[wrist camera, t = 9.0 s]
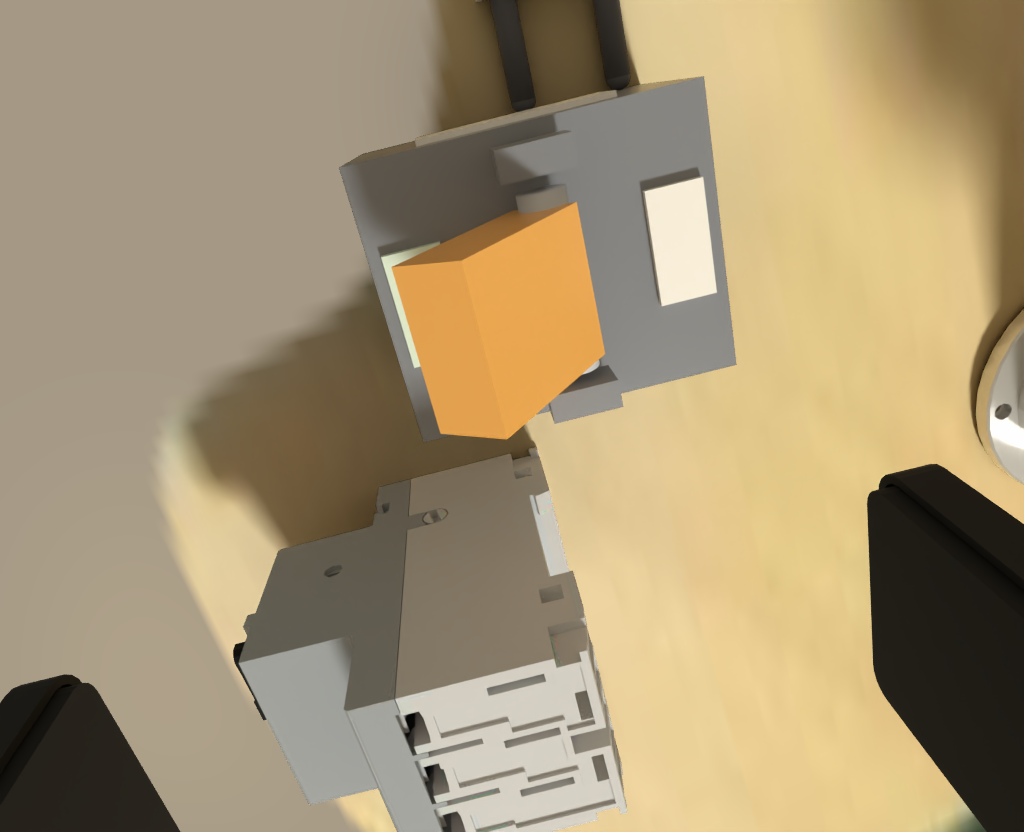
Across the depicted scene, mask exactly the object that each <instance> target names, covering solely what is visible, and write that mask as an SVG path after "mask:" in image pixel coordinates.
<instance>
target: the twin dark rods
mask: <svg viewBox="0 0 1024 832" xmlns="http://www.w3.org/2000/svg"><path fill="white" fill-rule="evenodd" d="M480 1H484V0H476V2H480ZM593 3H594V9H595V16H596V22H597V28H598V34H599V40H600V46H601V53H602V59H603V65H604V71H605V77H606V82H607V84H608V86H609V87H610V88H611V89H613V90H621V89H623V88H625V87H626V86H627V85H628V83H629V81H630V69H629V62H628V56H627V49H626V42H625V36H624V29H623V22H622V16H621V9H620V2H619V0H593ZM490 4H491V9H492V14H493V19H494V23H495V28H496V33H497V38H498V42H499V47H500V52H501V57H502V61H503V66H504V71H505V75H506V80H507V85H508V90H509V94H510V99H511V104H512V107H513V108H514V110H515V111H516V112H520V111H524V110H528V109H532V108H534V106H535V94H534V89H533V84H532V79H531V74H530V69H529V64H528V59H527V54H526V49H525V44H524V39H523V34H522V29H521V23H520V18H519V13H518V8H517V3H516V0H490Z"/></svg>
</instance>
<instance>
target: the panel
mask: <svg viewBox="0 0 1024 832" xmlns="http://www.w3.org/2000/svg"><path fill="white" fill-rule="evenodd" d="M339 169H340V173H341V176H342V179H343V182H344V185H345V189H346V192H347V195H348V199H349V202H350V205H351V208H352V212H353V215H354V218H355V221H356V225H357V228H358V231H359V234H360V237H361V241H362V244H363V247H364V251H365V254H366V257H367V260H368V264H369V267H370V270H371V273H372V276H373V280H374V283H375V286H376V289H377V293H378V296H379V299H380V302H381V306H382V309H383V312H384V315H385V319H386V322H387V325H388V328H389V332H390V335H391V338H392V341H393V345H394V348H395V351H396V354H397V358H398V361H399V364H400V367H401V371H402V374H403V377H404V380H405V384H406V387H407V390H408V393H409V397H410V400H411V403H412V406H413V410H414V413H415V416H416V419H417V423H418V426H419V429H420V432H421V436H422V439H423V442H428V441H432V440H436V439H440V438H444V437H448V436H452V435H450V434H441V433H440V430H439V427H438V423H437V420H436V417H435V413H434V410H433V406H432V403H431V400H430V396H429V393H428V390H427V386H426V383H425V379H424V376H423V373H422V369H421V366H420V363H419V359H418V356H417V352H416V349H415V346H414V342H413V339H412V335H411V332H410V329H409V325H408V322H407V319H406V315H405V312H404V308H403V305H402V302H401V298H400V295H399V292H398V288H397V285H396V281H395V278H394V275H393V271H392V268H391V267H393V266H395V265H397V264H399V263H401V262H403V261H405V260H408V259H410V258H412V257H414V256H416V255H418V254H420V253H423V252H425V251H427V250H429V249H431V248H433V247H435V246H438V245H440V244H442V243H444V242H446V241H448V240H451V239H453V238H455V237H457V236H459V235H461V234H463V233H466V232H468V231H470V230H472V229H474V228H476V227H478V226H481V225H483V224H485V223H487V222H489V221H491V220H493V219H496V218H498V217H500V216H502V215H504V214H506V213H508V212H511V211H513V210H518V206H517V202H516V197H515V196H516V195H517V194H519V193H522V192H524V191H527V190H531V189H534V188H538V187H543V186H547V185H553V184H566V189H567V194H568V199H569V203H572V202H577V206H578V211H579V217H580V222H581V227H582V233H583V238H584V243H585V249H586V254H587V259H588V265H589V270H590V275H591V281H592V286H593V291H594V297H595V302H596V307H597V313H598V318H599V323H600V329H601V334H602V339H603V345H604V350H605V355H603V356H602V357H601V358H600V359H599V361H600V365H599V366H598V367H597V368H596V369H595V370H593V371H591V372H589V373H586V374H583V375H581V376H579V377H578V378H577V379H576V380H575V381H574V382H572V383H571V384H570V385H569V386H568V387H567V388H566V389H564V390H563V391H562V392H561V393H560V394H559V395H558V396H556V397H555V398H554V399H553V400H552V401H551V402H550V403H548V404H547V405H546V406H545V407H544V408H543V409H542V410H540V411H539V412H538V413H537V414H541V413H545V412H549V411H550V412H551V414H552V417H553V420H554V422H555V424H556V423H560V422H564V421H568V420H572V419H576V418H580V417H584V416H588V415H592V414H596V413H600V412H604V411H608V410H612V409H616V408H620V407H623V403H622V397H621V393H625V392H629V391H633V390H637V389H641V388H645V387H649V386H653V385H657V384H661V383H665V382H669V381H673V380H677V379H681V378H685V377H689V376H693V375H697V374H701V373H705V372H709V371H713V370H717V369H721V368H725V367H729V366H733V365H736V357H735V348H734V339H733V330H732V321H731V312H730V304H729V295H728V286H727V277H726V268H725V259H724V250H723V242H722V233H721V224H720V215H719V206H718V197H717V188H716V179H715V171H714V162H713V153H712V144H711V135H710V126H709V117H708V109H707V100H706V91H705V82H704V76H703V77H695V78H687V79H680V80H672V81H664V82H656V83H648V84H640V85H636V86H632V87H628V88H624V89H621V90H612V91H603V92H596V93H592V94H588V95H584V96H580V97H576V98H572V99H568V100H564V101H560V102H556V103H552V104H548V105H544V106H540V107H536V108H532V109H528V110H524V111H520V112H516V113H512V114H508V115H504V116H500V117H496V118H492V119H488V120H484V121H480V122H476V123H472V124H468V125H465V126H461V127H457V128H453V129H449V130H445V131H441V132H437V133H433V134H429V135H425V136H421V137H417V138H416V139H415V141H413V142H409V143H405V144H401V145H397V146H393V147H389V148H385V149H381V150H377V151H373V152H369V153H365V154H362V155H360V156H358V157H357V158H355V159H353V160H351V161H350V162H348V163H346V164H345V165H343V166H341V167H340V168H339Z"/></svg>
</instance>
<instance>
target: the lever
mask: <svg viewBox="0 0 1024 832" xmlns="http://www.w3.org/2000/svg"><path fill="white" fill-rule="evenodd" d="M515 197H516V202H517V206H518V210H513V211H511V212H508V213H506V214H504V215H502V216H500V217H498V218H496V219H493V220H491V221H489V222H487V223H485V224H483V225H481V226H478V227H476V228H474V229H472V230H470V231H468V232H466V233H463V234H461V235H459V236H457V237H455V238H453V239H451V240H448V241H446V242H444V243H442V244H440V245H438V246H435V247H433V248H431V249H429V250H427V251H425V252H423V253H420V254H418V255H416V256H414V257H412V258H410V259H408V260H405V261H403V262H401V263H399V264H397V265H395V266H393V267H391V268H392V271H393V275H394V278H395V281H396V285H397V288H398V292H399V295H400V298H401V302H402V305H403V308H404V312H405V315H406V319H407V322H408V325H409V329H410V332H411V335H412V339H413V342H414V346H415V349H416V352H417V356H418V359H419V363H420V366H421V369H422V373H423V376H424V379H425V383H426V386H427V390H428V393H429V396H430V400H431V403H432V406H433V410H434V413H435V417H436V420H437V423H438V427H439V430H440V433H441V434H450V435H462V436H473V437H485V438H497V439H508V438H509V437H511V436H512V435H513V434H514V433H515V432H516V431H518V430H519V429H520V428H521V427H522V426H523V425H524V424H526V423H527V422H528V421H529V420H530V419H531V418H532V417H534V416H535V415H536V414H537V413H538V412H539V411H540V410H542V409H543V408H544V407H545V406H546V405H547V404H548V403H550V402H551V401H552V400H553V399H554V398H555V397H556V396H558V395H559V394H560V393H561V392H562V391H563V390H564V389H566V388H567V387H568V386H569V385H570V384H571V383H572V382H574V381H575V380H576V379H577V378H578V377H579V376H581V375H583V374H586V373H589V372H591V371H593V370H595V369H596V368H597V367H598V366H599V365H600V361H599V359H600V358H601V357H602V356H603V355H605V350H604V345H603V339H602V334H601V329H600V323H599V318H598V313H597V307H596V302H595V297H594V291H593V286H592V281H591V275H590V270H589V265H588V259H587V254H586V249H585V243H584V238H583V233H582V227H581V222H580V217H579V211H578V206H577V202H572V203H569V199H568V194H567V189H566V184H553V185H547V186H543V187H538V188H534V189H531V190H527V191H524V192H522V193H519V194H517V195H516V196H515Z"/></svg>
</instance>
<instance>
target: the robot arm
mask: <svg viewBox="0 0 1024 832" xmlns="http://www.w3.org/2000/svg"><path fill="white" fill-rule="evenodd" d="M976 419H977V427H978V434H979V436H980V439H981V441H982V444H983V447H984V449H985V451H986V453H987V454H988V455H989V457H990V458H991V459H992V461H993V462H994V464H995V465H996V466H998V467H999V468H1000V469H1001V470H1002V471H1004V472H1005V473H1006V474H1007V475H1009V476H1010V477H1012V478H1014V479H1015V480H1017V481H1019V482H1020V483H1022V484H1024V309H1023V310H1022V311H1021V312H1020V314H1019V315H1018V316H1017V317H1016V318H1015V319H1014V320H1013V321H1012V323H1011V324H1010V325H1009V326H1008V327H1007V329H1006V330H1005V332H1004V333H1003V335H1002V336H1001V338H1000V339H999V341H998V342H997V344H996V346H995V347H994V349H993V351H992V353H991V355H990V357H989V360H988V362H987V364H986V366H985V368H984V370H983V374H982V378H981V381H980V385H979V389H978V393H977V405H976ZM867 510H868V537H869V564H870V591H871V618H872V645H873V666H874V672H875V676H876V679H877V682H878V684H879V687H880V689H881V691H882V693H883V694H884V696H885V697H886V699H887V700H888V702H889V703H890V704H891V706H892V707H893V708H894V710H895V711H896V712H897V714H898V715H899V716H900V718H901V719H902V720H903V722H904V723H905V724H906V726H907V727H908V728H909V730H910V731H911V732H912V734H913V735H914V736H915V737H916V739H917V740H918V741H919V743H920V744H921V745H922V747H923V748H924V749H925V751H926V752H927V753H928V755H929V756H930V757H931V759H932V760H933V761H934V763H935V764H936V765H937V767H938V768H939V769H940V771H941V772H942V773H943V774H944V776H945V777H946V778H947V780H948V781H949V782H950V784H951V785H952V786H953V788H954V789H955V790H956V792H957V793H958V794H959V796H960V797H961V798H962V800H963V801H964V802H965V804H966V805H967V806H968V808H969V809H970V810H971V811H972V813H973V814H974V815H975V817H976V818H977V819H978V821H979V822H980V823H981V825H982V826H983V827H984V829H985V830H986V831H987V832H1024V524H1023V523H1021V522H1020V521H1018V520H1017V519H1016V518H1014V517H1013V516H1011V515H1010V514H1009V513H1007V512H1006V511H1004V510H1003V509H1002V508H1000V507H999V506H997V505H996V504H994V503H993V502H992V501H990V500H989V499H987V498H986V497H985V496H983V495H982V494H980V493H979V492H978V491H976V490H975V489H973V488H972V487H971V486H969V485H968V484H966V483H965V482H963V481H962V480H961V479H959V478H958V477H956V476H955V475H954V474H952V473H951V472H949V471H948V470H947V469H945V468H944V467H942V466H940V465H938V464H929V465H925V466H921V467H917V468H913V469H908V470H904V471H900V472H896V473H892V474H888V475H885V476H884V477H883V478H882V479H881V481H880V484H879V490H875V491H872V492H871V493H870V494H869V496H868V501H867ZM0 832H180V830H179V829H178V827H177V825H176V823H175V822H174V820H173V818H172V817H171V815H170V813H169V812H168V810H167V808H166V807H165V805H164V803H163V801H162V800H161V798H160V796H159V795H158V793H157V791H156V790H155V788H154V786H153V784H152V783H151V781H150V780H149V778H148V776H147V774H146V773H145V771H144V769H143V767H142V766H141V764H140V763H139V761H138V759H137V757H136V756H135V754H134V752H133V751H132V749H131V747H130V745H129V744H128V742H127V740H126V739H125V737H124V735H123V734H122V732H121V730H120V728H119V727H118V725H117V723H116V722H115V720H114V718H113V717H112V715H111V713H110V711H109V710H108V708H107V706H106V705H105V703H104V701H103V700H102V698H101V696H100V694H99V693H98V691H97V690H96V689H95V687H94V686H92V685H91V684H89V683H82V682H81V681H80V680H79V679H78V678H76V677H75V676H73V675H61V676H57V677H53V678H49V679H45V680H40V681H36V682H32V683H28V684H24V685H20V686H18V687H15V688H13V689H12V690H11V691H10V692H9V693H8V694H7V695H6V696H5V697H4V699H3V700H2V701H1V703H0Z"/></svg>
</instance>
